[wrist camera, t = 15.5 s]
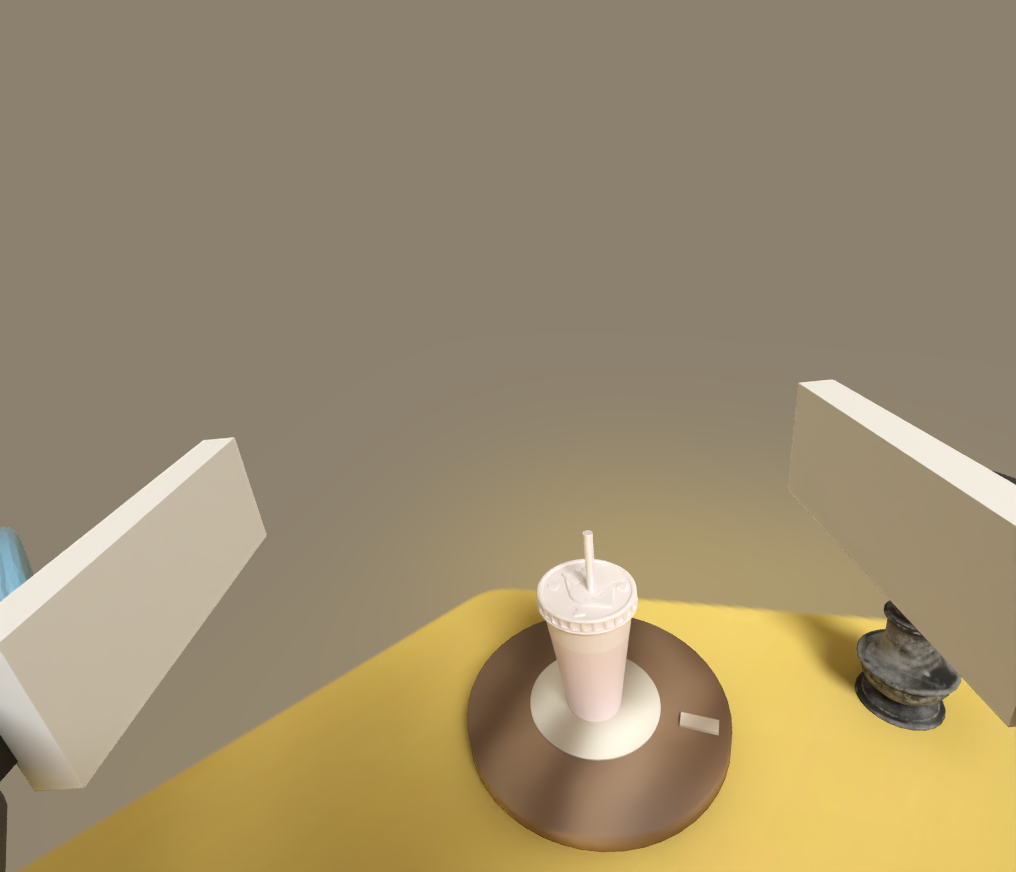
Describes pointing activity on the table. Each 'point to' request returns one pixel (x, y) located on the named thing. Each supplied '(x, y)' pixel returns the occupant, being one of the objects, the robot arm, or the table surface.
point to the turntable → (601, 743)
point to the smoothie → (589, 629)
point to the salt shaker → (903, 675)
